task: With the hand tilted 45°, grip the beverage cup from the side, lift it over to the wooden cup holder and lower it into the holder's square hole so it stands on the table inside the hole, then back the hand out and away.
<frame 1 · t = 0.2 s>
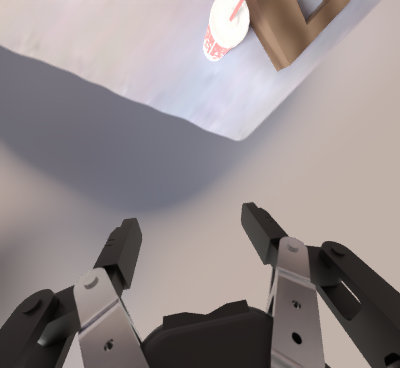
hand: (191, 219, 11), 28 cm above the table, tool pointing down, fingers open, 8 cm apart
beverage cup: (214, 47, 30), on the table
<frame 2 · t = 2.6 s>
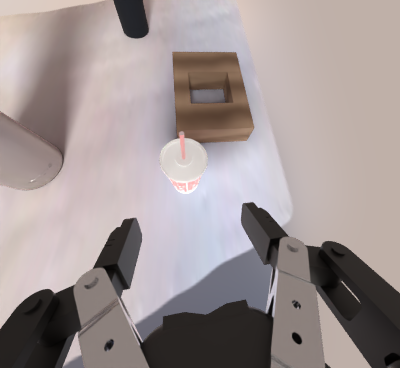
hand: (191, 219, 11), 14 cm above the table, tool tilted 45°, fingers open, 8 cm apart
black water bottle: (136, 31, 39), on the table
beverage cup: (185, 181, 27), on the table
wooden cup holder: (207, 103, 33), on the table
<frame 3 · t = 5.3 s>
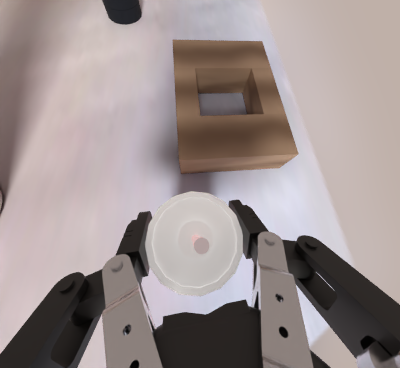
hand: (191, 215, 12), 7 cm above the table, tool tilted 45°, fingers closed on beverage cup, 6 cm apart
black water bottle: (125, 15, 30), on the table
beverage cup: (192, 235, 18), on the table, touching gripper
wooden cup holder: (221, 112, 24), on the table
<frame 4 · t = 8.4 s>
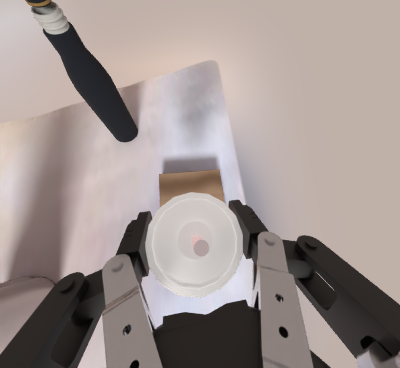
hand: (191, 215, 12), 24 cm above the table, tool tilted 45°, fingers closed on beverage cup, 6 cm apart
black water bottle: (126, 132, 41), on the table
beverage cup: (192, 235, 18), point 17 cm above the table, touching gripper
wooden cup holder: (193, 217, 35), on the table
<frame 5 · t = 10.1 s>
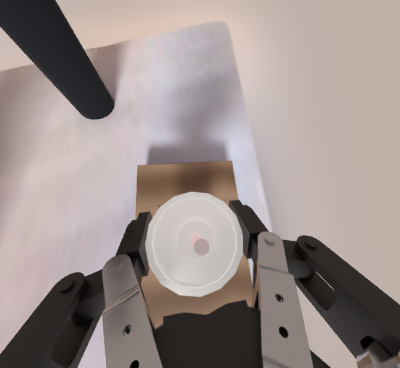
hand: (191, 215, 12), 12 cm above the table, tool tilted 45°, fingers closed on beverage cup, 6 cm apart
black water bottle: (97, 106, 29), on the table
beverage cup: (192, 235, 18), point 5 cm above the table, touching gripper
wooden cup holder: (190, 232, 23), on the table
when the fingers open (8 cm above the table, at t = 11.6 s): beverage cup drops 1 cm, resting in wooden cup holder.
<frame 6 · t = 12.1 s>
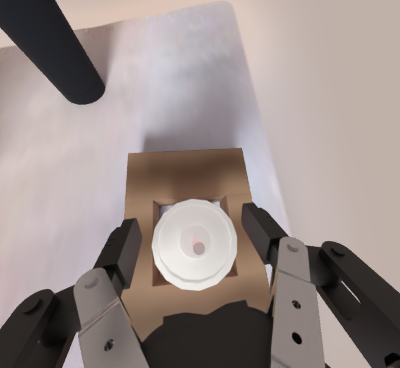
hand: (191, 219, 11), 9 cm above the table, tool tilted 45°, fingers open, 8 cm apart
black water bottle: (86, 91, 25), on the table
beverage cup: (193, 236, 19), resting in wooden cup holder
wooden cup holder: (192, 235, 19), on the table
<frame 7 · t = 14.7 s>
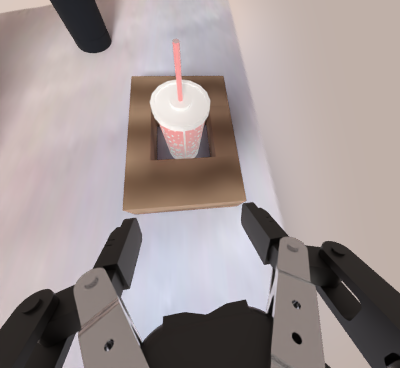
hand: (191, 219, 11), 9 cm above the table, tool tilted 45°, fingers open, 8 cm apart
black water bottle: (95, 43, 30), on the table
beverage cup: (184, 149, 24), resting in wooden cup holder
wooden cup holder: (183, 147, 24), on the table
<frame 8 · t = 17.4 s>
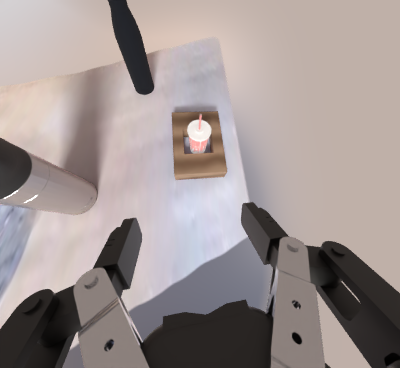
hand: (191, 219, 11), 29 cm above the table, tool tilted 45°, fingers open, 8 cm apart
black water bottle: (144, 88, 52), on the table
beverage cup: (197, 148, 46), resting in wooden cup holder
wooden cup holder: (197, 147, 46), on the table
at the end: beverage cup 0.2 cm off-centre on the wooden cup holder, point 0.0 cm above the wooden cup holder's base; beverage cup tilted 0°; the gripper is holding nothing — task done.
